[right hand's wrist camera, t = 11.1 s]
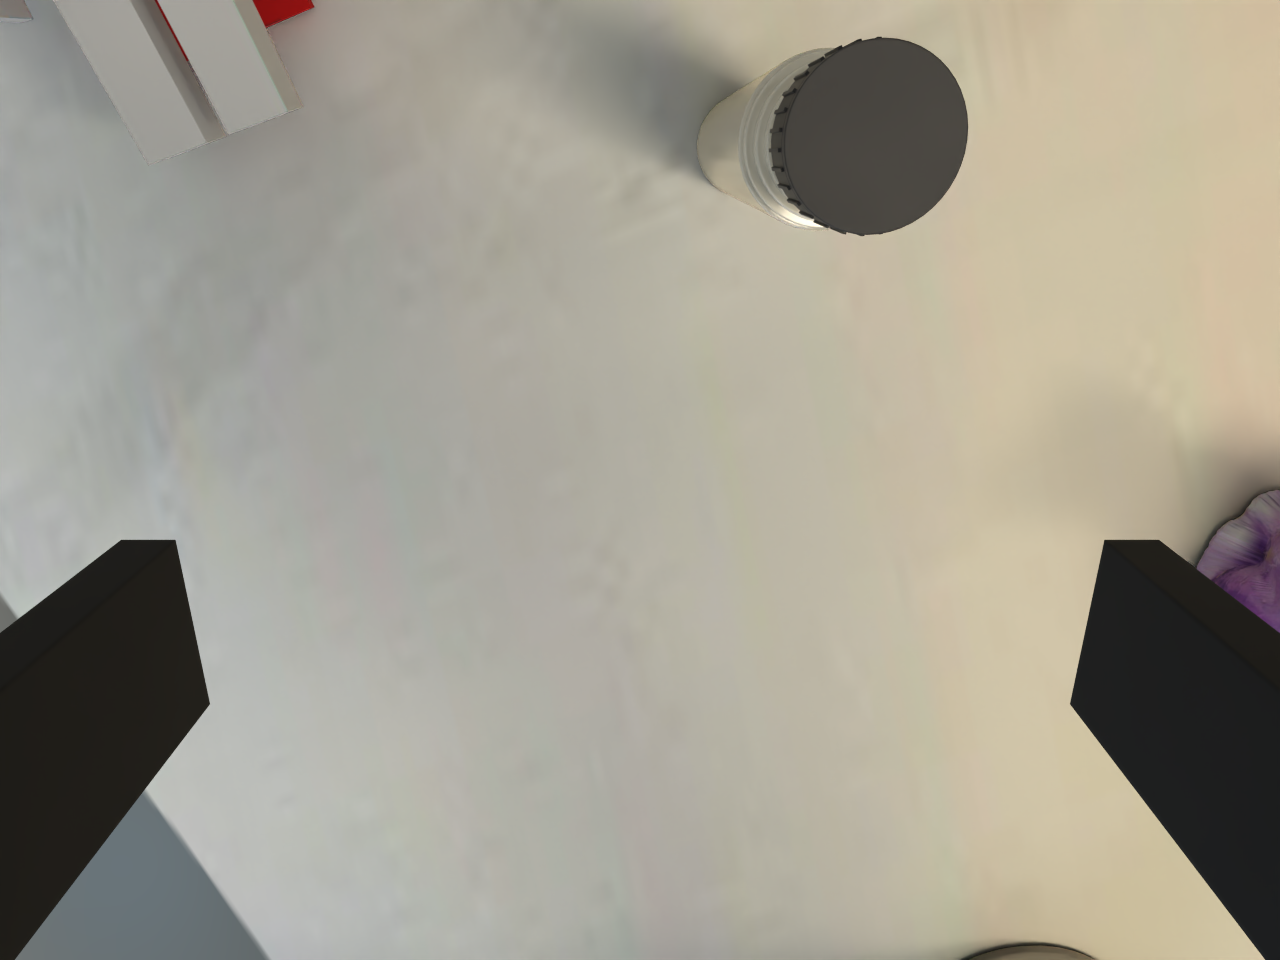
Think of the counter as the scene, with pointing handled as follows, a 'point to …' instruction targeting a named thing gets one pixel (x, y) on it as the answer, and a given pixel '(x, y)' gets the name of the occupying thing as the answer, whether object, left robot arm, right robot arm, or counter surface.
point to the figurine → (1249, 558)
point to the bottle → (752, 142)
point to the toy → (182, 64)
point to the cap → (869, 136)
